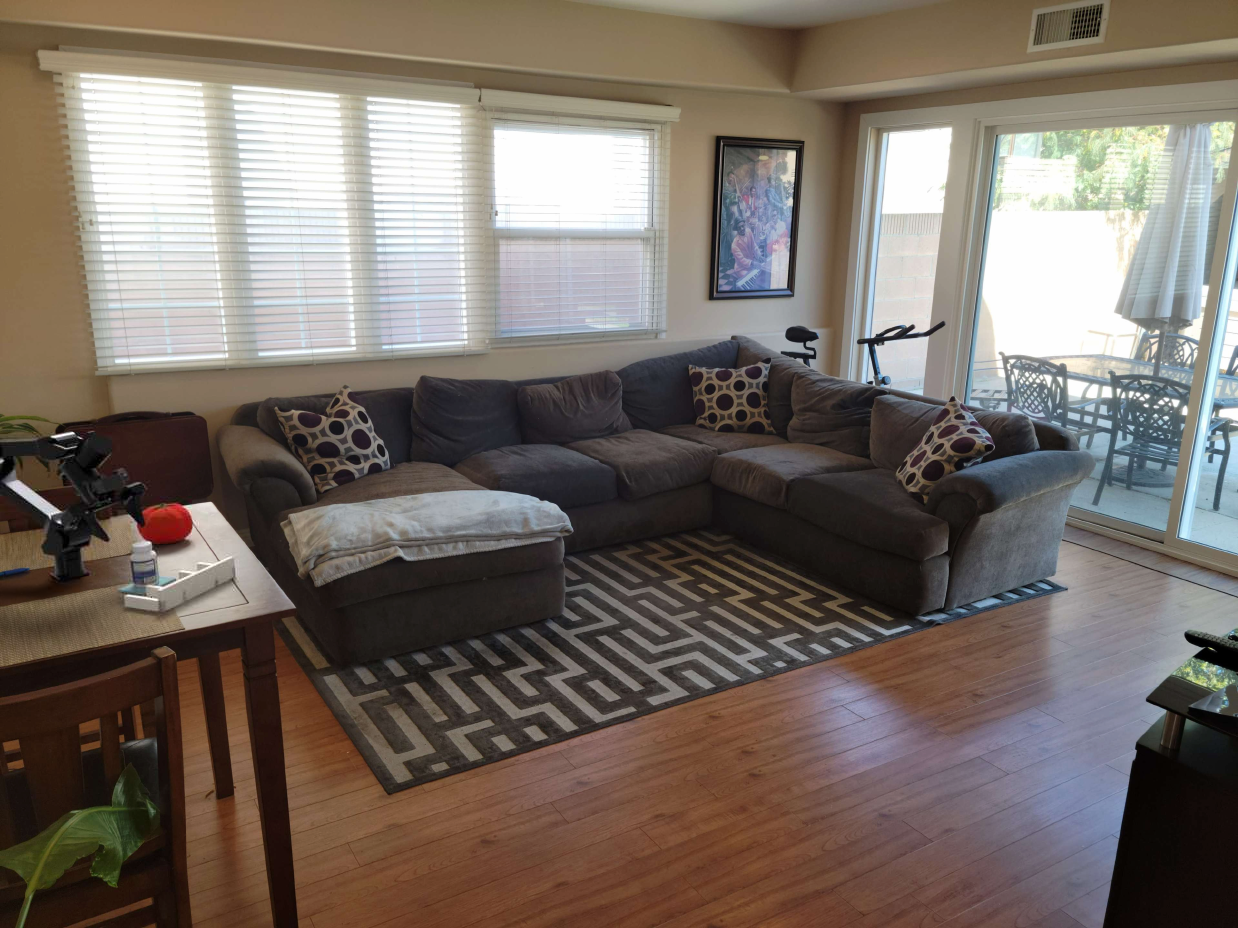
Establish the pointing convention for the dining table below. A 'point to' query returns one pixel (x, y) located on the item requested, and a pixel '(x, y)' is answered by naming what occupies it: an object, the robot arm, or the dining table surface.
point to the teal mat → (142, 590)
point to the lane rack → (184, 586)
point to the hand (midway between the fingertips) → (126, 533)
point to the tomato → (166, 523)
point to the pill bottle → (144, 564)
